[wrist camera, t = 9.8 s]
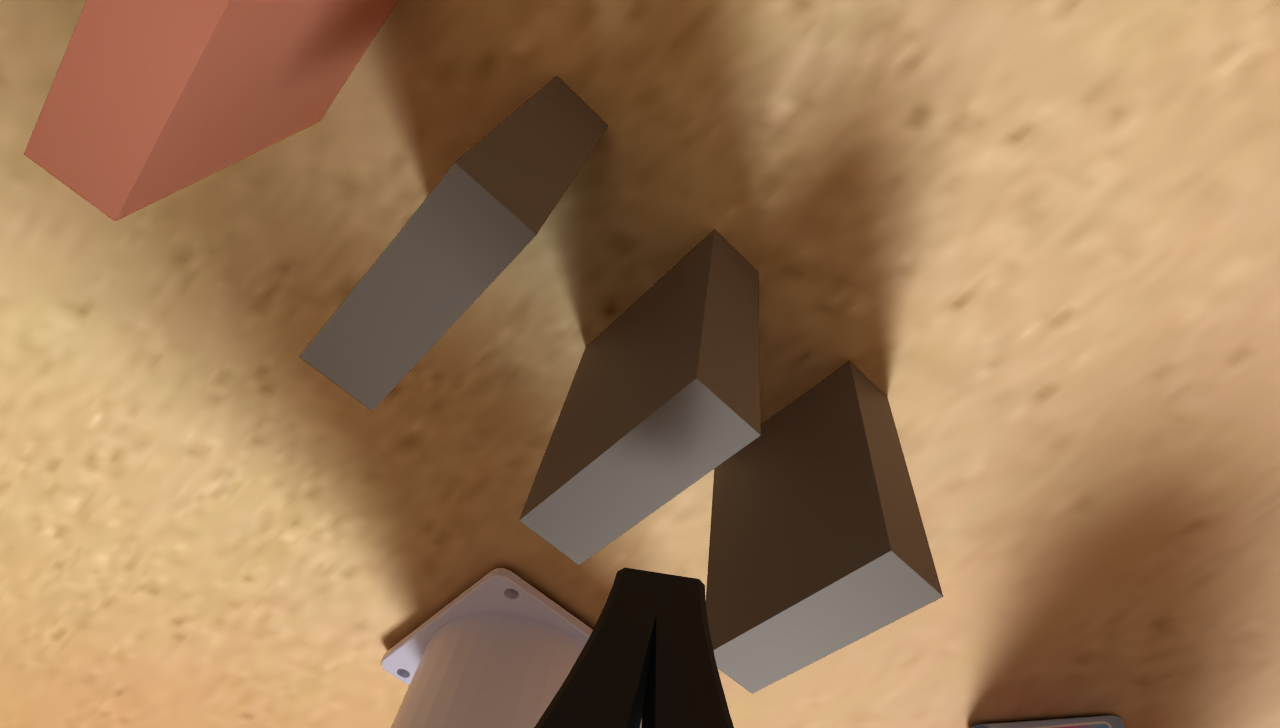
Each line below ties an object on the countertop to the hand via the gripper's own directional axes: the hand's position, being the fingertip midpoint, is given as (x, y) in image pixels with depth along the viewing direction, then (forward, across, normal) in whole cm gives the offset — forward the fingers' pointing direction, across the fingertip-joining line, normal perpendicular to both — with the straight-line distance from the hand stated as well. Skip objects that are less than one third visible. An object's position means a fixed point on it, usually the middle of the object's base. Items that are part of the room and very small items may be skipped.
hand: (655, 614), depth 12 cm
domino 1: (+9, +9, -7) cm, 15 cm away
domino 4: (+9, -3, +2) cm, 10 cm away
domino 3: (+9, +1, -1) cm, 9 cm away
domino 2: (+9, +5, -4) cm, 11 cm away
